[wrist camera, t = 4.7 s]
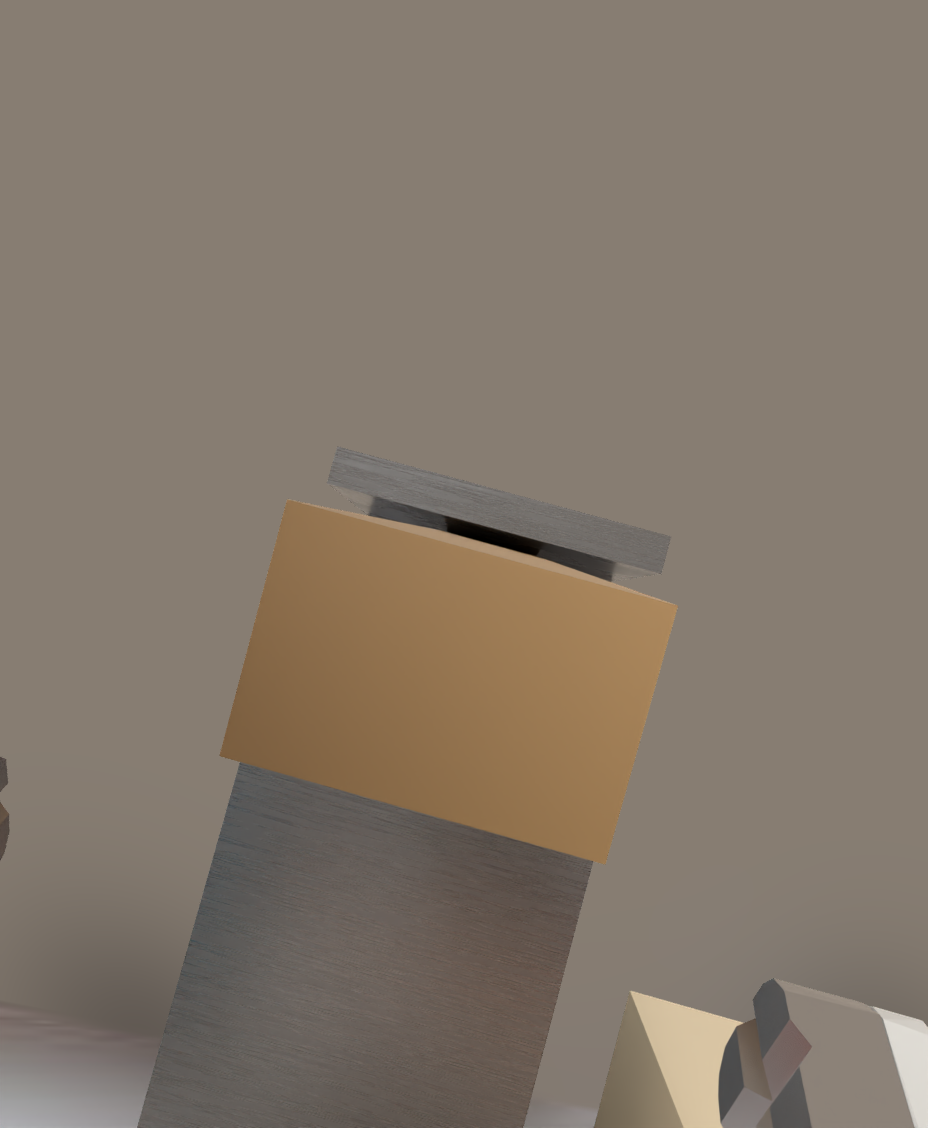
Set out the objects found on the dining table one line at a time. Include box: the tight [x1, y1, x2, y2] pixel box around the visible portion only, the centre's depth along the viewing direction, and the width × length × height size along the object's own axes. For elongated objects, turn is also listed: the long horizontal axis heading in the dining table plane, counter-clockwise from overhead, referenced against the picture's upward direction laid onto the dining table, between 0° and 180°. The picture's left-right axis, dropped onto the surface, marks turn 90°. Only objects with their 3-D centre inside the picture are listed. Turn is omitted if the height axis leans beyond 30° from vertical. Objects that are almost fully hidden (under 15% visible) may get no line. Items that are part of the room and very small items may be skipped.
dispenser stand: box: [137, 447, 671, 1128], centre depth 27 cm, size 14×12×30 cm
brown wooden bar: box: [220, 500, 678, 864], centre depth 17 cm, size 22×3×2 cm, turn 179°
